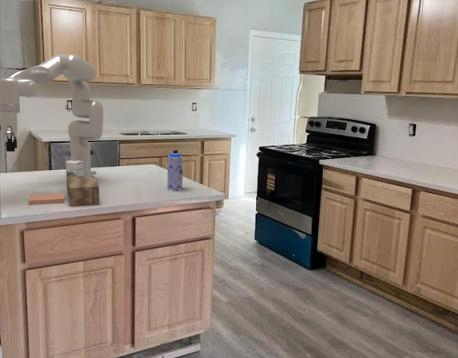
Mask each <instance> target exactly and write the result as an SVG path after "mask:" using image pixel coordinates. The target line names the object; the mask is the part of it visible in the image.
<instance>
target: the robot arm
mask: <svg viewBox="0 0 458 358" xmlns="http://www.w3.org/2000/svg"><path fill="white" fill-rule="evenodd" d="M61 75H63V76H64V77H65V79H66V80H67V81H68V82H69V84H70V86H71V91H72V98H71V99H72V100H71V101H72V102H71V113H72V115H73V116H74V117H76V118H81V120H78V119H77V120H73V121H71V122H69V124H68V126H67V131H68V132H67V133H68V137H69V143H70V160H79V161H83V176H95V175H97V171H96V170H93V171H92V170H91V168H92V167H91V166H92V165H91V146H90V143H89V141H98V140H100V139H101V138H102V136H103V131H104V107H103V104H102V102H100V101H99V100H96V99H91V90H90V86H89V84H88V82H91V81H93V80H95V79H96V76H97V70H96V67H95V66H94V65H93V64H92V63H91V62H89V61H87V60H85V59H83V58H82V57H80V56H78V55H75V54H66V53H65V54H63V53H60V54H55V55H53V56H51V57H49V58H47V60H45V61H44V62H41V63H40V64H38V65H35V66H31V67H29V68H26V69H23V70H20V71H17V72H15V73H14V74H12V75H11V76H9V77H5V78H4V77H3V78H2V77H1V78H0V113H1V114H2V117H1V118H2V137H5V140H6V141H5V151H6V152H7V153H8V152H10V153H11V152H12V153H13V152H15V151H16V149H17V148H18V140H17V135H18V114H19V113H21V104H20V97H25V98H31V97H34V96H36V94H38V91H39V86H38V85H45V84H49V83H52V81H54V80H55V79H56V78H58V77H60V76H61ZM82 119H89V120H82Z"/></svg>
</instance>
